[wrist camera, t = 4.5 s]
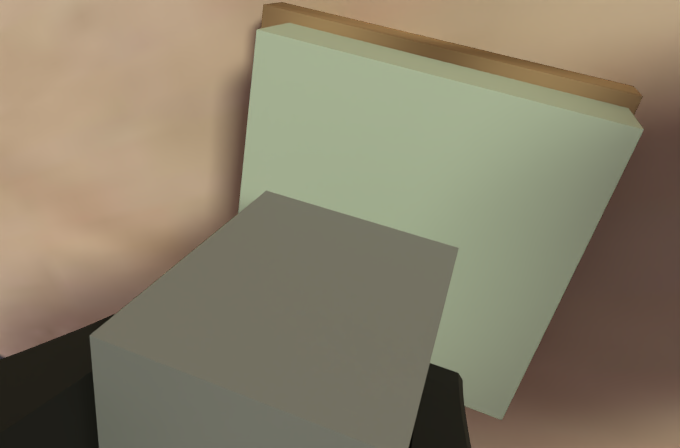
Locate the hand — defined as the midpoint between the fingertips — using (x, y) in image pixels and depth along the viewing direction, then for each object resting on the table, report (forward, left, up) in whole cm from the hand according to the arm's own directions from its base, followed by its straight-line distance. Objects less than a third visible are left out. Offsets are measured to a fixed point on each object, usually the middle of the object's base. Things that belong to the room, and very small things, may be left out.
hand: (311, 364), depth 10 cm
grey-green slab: (0, 0, -7) cm, 7 cm away
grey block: (0, 0, -2) cm, 2 cm away
